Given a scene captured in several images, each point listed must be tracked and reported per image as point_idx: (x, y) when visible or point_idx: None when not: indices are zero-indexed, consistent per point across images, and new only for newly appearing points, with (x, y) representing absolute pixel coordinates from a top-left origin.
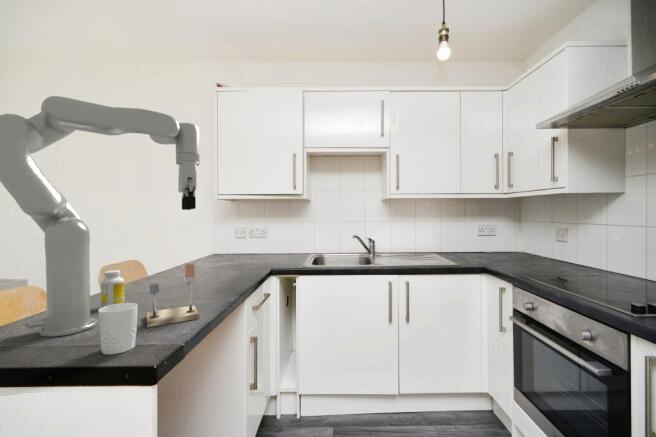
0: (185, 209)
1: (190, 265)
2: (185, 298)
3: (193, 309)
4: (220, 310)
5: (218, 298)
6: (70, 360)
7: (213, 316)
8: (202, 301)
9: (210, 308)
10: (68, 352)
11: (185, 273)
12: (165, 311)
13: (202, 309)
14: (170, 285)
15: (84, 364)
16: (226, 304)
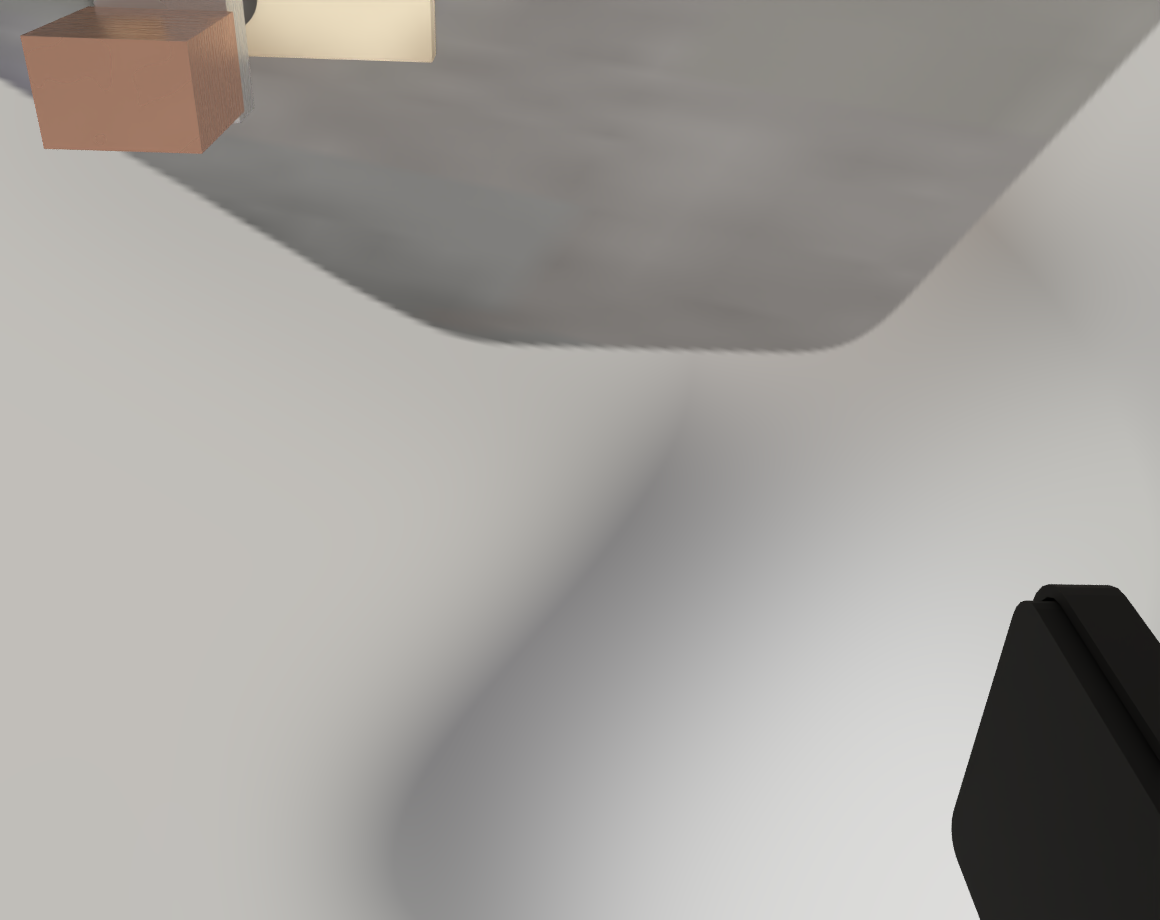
0: (1018, 677)
1: (41, 94)
2: (942, 50)
3: (279, 29)
4: (296, 247)
5: (715, 322)
6: None
7: (142, 159)
8: (699, 177)
9: (405, 189)
10: None
11: (152, 15)
12: None
13: (409, 122)
14: None
15: None
16: (462, 331)
